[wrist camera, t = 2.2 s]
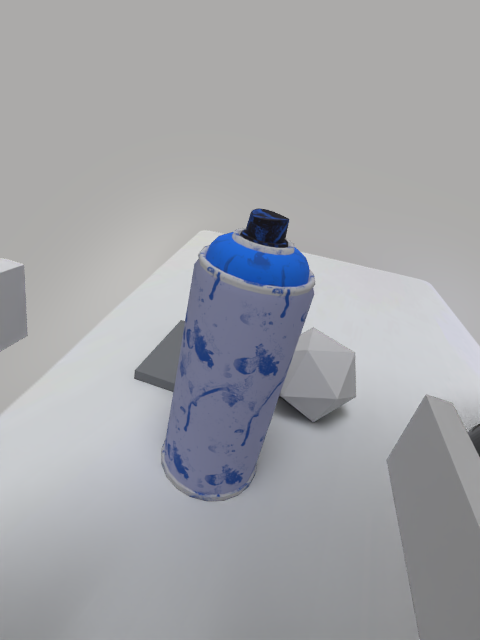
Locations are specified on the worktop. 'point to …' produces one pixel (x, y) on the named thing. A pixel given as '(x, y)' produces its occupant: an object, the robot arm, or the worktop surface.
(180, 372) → the aerosol can
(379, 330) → the worktop surface
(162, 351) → the mat
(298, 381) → the die
